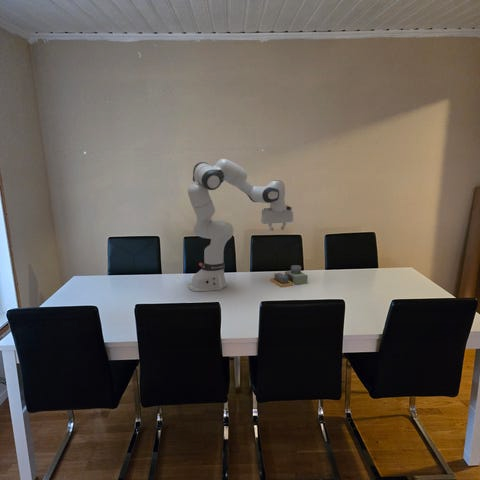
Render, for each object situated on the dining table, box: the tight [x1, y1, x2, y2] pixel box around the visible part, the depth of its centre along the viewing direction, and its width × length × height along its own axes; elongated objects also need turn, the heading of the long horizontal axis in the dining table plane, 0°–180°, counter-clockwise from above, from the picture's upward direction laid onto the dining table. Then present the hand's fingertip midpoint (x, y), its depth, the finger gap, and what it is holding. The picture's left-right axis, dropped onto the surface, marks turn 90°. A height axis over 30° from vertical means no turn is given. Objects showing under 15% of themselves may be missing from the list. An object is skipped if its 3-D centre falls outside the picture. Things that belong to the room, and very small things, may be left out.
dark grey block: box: [273, 272, 288, 284], centre depth 228 cm, size 4×10×5 cm, turn 22°
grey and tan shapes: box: [269, 264, 309, 288], centre depth 230 cm, size 18×14×9 cm
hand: (277, 230), depth 233 cm, fingers open, 6 cm apart
